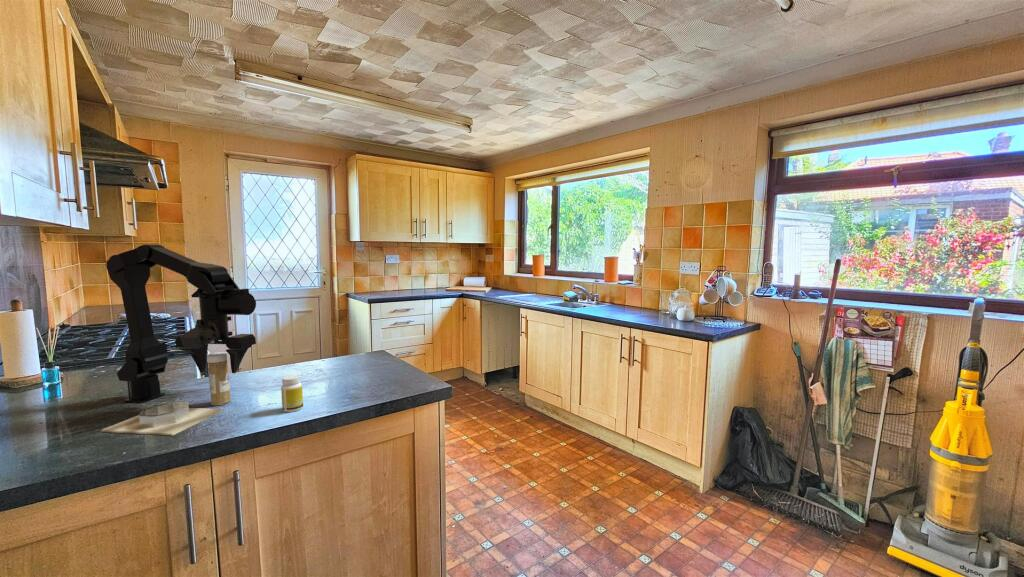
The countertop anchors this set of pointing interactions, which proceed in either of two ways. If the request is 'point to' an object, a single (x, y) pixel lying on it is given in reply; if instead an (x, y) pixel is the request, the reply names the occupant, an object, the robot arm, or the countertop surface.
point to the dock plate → (171, 429)
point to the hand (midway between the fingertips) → (218, 372)
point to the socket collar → (164, 414)
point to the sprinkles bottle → (219, 378)
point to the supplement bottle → (291, 393)
